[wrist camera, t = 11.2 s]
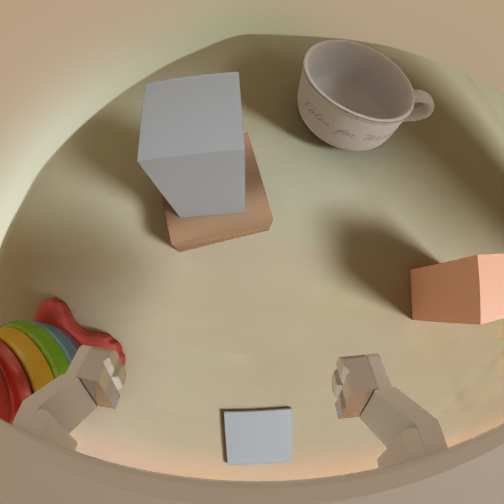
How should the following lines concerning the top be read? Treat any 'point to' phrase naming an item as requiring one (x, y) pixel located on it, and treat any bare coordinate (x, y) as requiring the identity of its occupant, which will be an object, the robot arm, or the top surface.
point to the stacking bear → (41, 352)
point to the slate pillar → (195, 143)
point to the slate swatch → (258, 436)
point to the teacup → (356, 95)
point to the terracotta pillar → (459, 290)
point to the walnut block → (226, 225)
